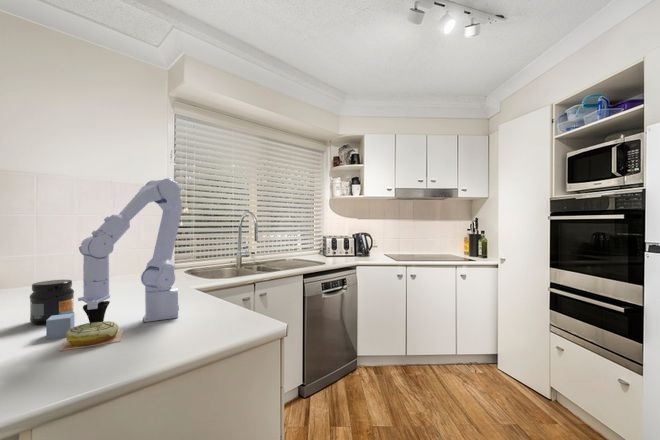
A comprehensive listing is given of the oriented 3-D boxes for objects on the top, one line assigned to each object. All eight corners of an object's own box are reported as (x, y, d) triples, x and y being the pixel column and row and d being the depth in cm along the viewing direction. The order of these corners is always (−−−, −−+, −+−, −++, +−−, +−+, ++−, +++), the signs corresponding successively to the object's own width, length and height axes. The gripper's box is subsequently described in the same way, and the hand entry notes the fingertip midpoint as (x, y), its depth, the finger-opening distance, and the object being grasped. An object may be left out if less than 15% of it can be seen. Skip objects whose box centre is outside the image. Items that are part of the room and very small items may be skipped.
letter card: (122, 331, 90) (122, 330, 90) (119, 341, 82) (119, 340, 82) (67, 339, 84) (67, 338, 84) (59, 351, 76) (59, 350, 76)
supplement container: (82, 315, 105) (82, 279, 105) (51, 326, 95) (51, 285, 95) (53, 315, 106) (53, 279, 107) (19, 325, 96) (19, 285, 96)
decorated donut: (123, 339, 83) (123, 324, 83) (70, 351, 75) (70, 335, 75) (112, 329, 90) (112, 316, 90) (62, 340, 82) (62, 325, 82)
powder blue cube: (74, 330, 91) (74, 313, 91) (70, 336, 87) (70, 317, 87) (51, 333, 89) (51, 315, 89) (46, 339, 84) (46, 320, 84)
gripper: (83, 277, 93) (83, 324, 93) (72, 286, 80) (72, 340, 80) (112, 275, 96) (113, 320, 96) (106, 283, 83) (106, 335, 83)
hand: (96, 329), depth 88 cm, fingers closed
